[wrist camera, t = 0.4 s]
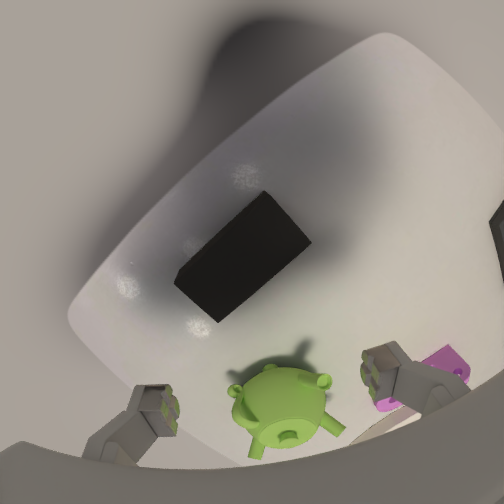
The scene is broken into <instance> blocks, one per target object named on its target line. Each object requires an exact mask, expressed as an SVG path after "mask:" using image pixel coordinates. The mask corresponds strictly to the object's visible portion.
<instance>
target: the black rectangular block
mask: <svg viewBox="0 0 504 504" xmlns="http://www.w3.org/2000/svg"><path fill="white" fill-rule="evenodd" d="M311 243H312V242H311V241H310V240H309V239H308V238H307V237H306V235H305V234H304V233H303V232H302V231H301V230H300V228H299V227H298V226H297V225H296V224H295V223H294V222H293V220H292V219H291V218H290V217H289V216H288V215H287V214H286V212H285V211H284V210H283V209H282V208H281V207H280V206H279V205H278V203H277V202H276V201H275V200H274V199H273V198H272V197H271V196H270V195H269V194H268V193H267V192H266V191H263V192H262V193H261V194H260V195H259V196H258V197H257V198H255V199H254V200H253V201H252V202H251V203H250V204H249V205H248V206H247V207H246V208H245V209H243V210H242V211H241V212H240V213H239V214H238V215H237V216H236V217H235V218H234V219H233V220H231V221H230V222H229V223H228V224H227V225H226V226H225V227H224V228H223V229H222V230H221V231H220V232H219V233H218V234H216V235H215V236H214V237H213V238H212V239H211V240H210V241H209V242H208V243H207V244H206V245H205V246H204V247H203V248H202V249H201V250H200V251H199V252H197V253H196V254H195V255H194V256H193V257H192V258H191V259H190V260H189V261H188V262H187V263H186V264H185V265H184V266H183V267H182V268H181V269H180V270H179V272H178V275H177V277H176V279H175V281H174V284H175V285H176V286H177V287H178V288H179V289H180V290H181V291H182V292H183V293H184V294H186V295H187V296H188V297H189V298H190V299H191V300H192V301H193V302H194V303H196V304H197V305H198V306H199V307H200V308H201V309H202V310H203V311H205V312H206V313H207V314H208V315H209V316H210V317H212V318H213V319H214V320H215V321H216V322H217V323H219V322H220V321H221V320H223V319H224V318H225V317H226V316H227V315H229V314H230V313H231V312H232V311H233V310H235V309H236V308H237V307H238V306H239V305H241V304H242V303H243V302H244V301H245V300H247V299H248V298H249V297H250V296H251V295H253V294H254V293H255V292H256V291H257V290H258V289H260V288H261V287H262V286H263V285H264V284H266V283H267V282H268V281H269V280H270V279H271V278H273V277H274V276H275V275H276V274H277V273H278V272H279V271H281V270H282V269H283V268H284V267H285V266H286V265H288V264H289V263H290V262H291V261H292V260H293V259H294V258H296V257H297V256H298V255H299V254H300V253H301V252H302V251H304V250H305V249H306V248H307V247H308V246H309V245H310V244H311Z"/></svg>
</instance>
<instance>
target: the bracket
mask: <svg viewBox="0 0 504 504" xmlns="http://www.w3.org/2000/svg"><path fill="white" fill-rule="evenodd" d="M421 363H424V364H426V365H429V366H432V367H435V368H438V369H441V370H444V371H447V372H450V373H453V374H456V375H458V374H460V376H459V375H458V376H459V377H460V378H461V379H462V380H463V381H464V383H465V384H467V383H468V381H469V376H470V367H469V365H468V364H467V363H466V362H465V361H464V360H463V359H462V358H461V357H460V356H459V355H458V354H457V353H456V352H455V351H454V350H453V349H452V348H451V347H450V346H449V345H447V346H445V347H444V348H442V349H441V350H439V351H438V352H436V353H435V354H433V355H432V356H430V357H429V358H427V359H426V360H424V361H422V362H421ZM373 402H374V401H373ZM374 404H375V406H376V408H377V410H378V411H380V412H387V411H391V410H393V409H395V408H397V407H399V406H400V405H402V403H401V402H399V401H397V400H395V399H394V398H392V397H389V398H386V399H383V400H380V401H377V402H374Z"/></svg>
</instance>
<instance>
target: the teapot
mask: <svg viewBox="0 0 504 504" xmlns="http://www.w3.org/2000/svg"><path fill="white" fill-rule="evenodd" d="M331 385H332V378H331V376H330V375H329V374H318V373H310V372H308V371H305V370H302V369H297V368H289V367H282V368H278V367H277V366H276V365H275V364H268V365H266V366H264V367H263V372H262V373H260V374H258V375H256V376H255V377H253V378H252V379H250V380H249V381H248V382H247V383H246V384H244V386H243V387H242V386H240V385H237V384H234V385H231V386H230V387H229V388H228V390H227V392H228V394H229V396H231V397H233V398H236V400H235V402H234V405H233V408H232V417H233V420H234V421H235V422H236V423H237V424H238V425H240V426H241V427H244V428H245V429H246V430H247V431H248V432H249V433H250V434H251V435H252V436H253V439H252V443H251V447H250V450H249V454H248V457H249V458H253V459H258V460H261V458H262V455H263V452H264V449H265V446H267V447H270V448H277V449H284V448H292V447H295V446H298V445H301V444H303V443H305V442H306V441H308V440H309V439H310V438H311V437H312V436H313V435H314V434H315V433H316V431H317V429H318V427H319V425H320V426H321V427H323V428H324V429H326V430H327V431H328V432H330V433H331V434H333V435H334V436H336V437H338V436H339V435H340V434H341V433H342V432H343V431H344V429H345V428H346V427H345V426H344V425H342V424H341V423H340V422H338V421H337V420H336V419H334V418H333V417H332V416H330V415H329V414H328V413H326V412H325V406H326V396H325V391H326V390H328V389H329V388H330V387H331Z"/></svg>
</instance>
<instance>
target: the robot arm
mask: <svg viewBox="0 0 504 504" xmlns="http://www.w3.org/2000/svg"><path fill="white" fill-rule="evenodd" d="M361 358H362V360H363V361H364V362H363V363H362V364H361V368H360V372H361V378H362V381H363V383H364V385H366V386H368V387H369V394H370V396H371V397H372V399H373V401H374V402H377V401H380V400H383V399H386V398H389V397H392V398H394V399H395V400H397V401H399V402H401V403H402V404H404V405H406V406H408V407H409V408H411V409H413V410H415V411H416V412H418V413H420V414H422V415H421V417H420V419H418V420H416V421H414V422H411V423H409V424H407V425H405V426H402V427H400V428H397V429H395V430H393V431H390V432H387V433H385V434H382V435H379V436H377V437H374V438H371V439H368V440H365V441H362V442H359V443H356V444H353V445H350V446H347V447H343V448H340V449H336V450H332V451H329V452H325V453H321V454H317V455H312V456H308V457H303V458H299V459H294V460H288V461H282V462H276V463H270V464H263V465H255V466H246V467H236V468H221V469H160V468H146V467H139V466H138V465H137V464H136V463H137V462H138V461H139V459H140V458H141V457H142V456H143V455H144V454H145V452H146V451H147V450H148V449H149V448H150V446H151V445H152V444H153V443H154V442H155V441H156V439H157V438H158V437H173V436H176V433H177V427H178V424H177V423H176V420H177V419H178V418H179V414H180V409H179V403H178V400H177V398H176V397H175V396H173V395H172V391H173V390H172V388H171V386H170V385H169V384H154V385H136V386H135V387H134V390H133V393H132V396H131V398H130V401H129V404H128V407H127V410H126V411H122V412H121V413H120V414H119V415H117V416H116V417H115V418H114V419H112V420H111V421H110V422H109V423H108V424H106V425H105V426H104V427H102V428H101V429H100V430H99V431H97V432H96V433H95V434H93V435H92V436H91V437H90V438H89V439H88V442H87V444H86V447H85V449H84V452H83V455H82V457H81V458H80V457H76V456H72V455H68V454H64V453H60V452H56V451H53V450H49V449H46V448H43V447H40V446H37V445H34V444H31V443H28V442H25V441H20V442H18V443H16V444H14V445H12V446H10V447H8V448H7V449H5V450H3V451H2V452H0V504H504V369H503V370H502V371H500V372H499V373H498V374H496V375H495V376H493V377H492V378H491V379H489V380H488V381H486V382H485V383H483V384H482V385H480V386H478V387H477V388H475V389H474V390H472V391H471V390H470V388H469V387H468V386H467V385H466V384H465V383H464V381H463V380H462V379H461V378H460V377H459V376H458V375H456V374H453V373H450V372H447V371H444V370H441V369H438V368H435V367H432V366H429V365H426V364H424V363H421V362H418V361H413V362H412V360H411V359H410V358H409V357H408V356H407V354H406V353H405V352H404V351H403V349H402V348H401V347H400V346H399V345H398V343H397V342H396V341H391V342H388V343H385V344H383V345H380V346H376V347H373V348H370V349H367V350H363V352H362V357H361Z"/></svg>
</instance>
